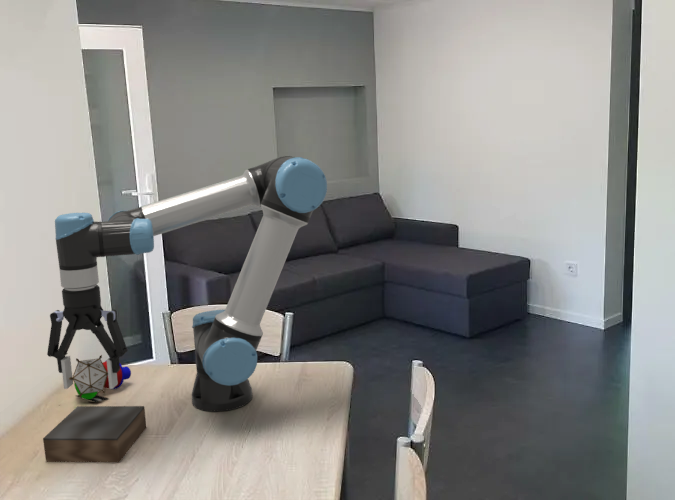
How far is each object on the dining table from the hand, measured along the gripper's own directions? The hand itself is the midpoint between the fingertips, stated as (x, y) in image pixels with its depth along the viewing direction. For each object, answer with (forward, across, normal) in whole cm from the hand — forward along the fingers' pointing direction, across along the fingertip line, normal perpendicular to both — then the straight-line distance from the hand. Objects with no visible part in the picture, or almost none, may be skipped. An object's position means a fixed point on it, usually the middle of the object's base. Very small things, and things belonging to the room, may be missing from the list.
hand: (91, 386), depth 147 cm
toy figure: (+14, +11, -28) cm, 33 cm away
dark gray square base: (+14, 0, 0) cm, 14 cm away
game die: (+2, 0, 0) cm, 2 cm away
